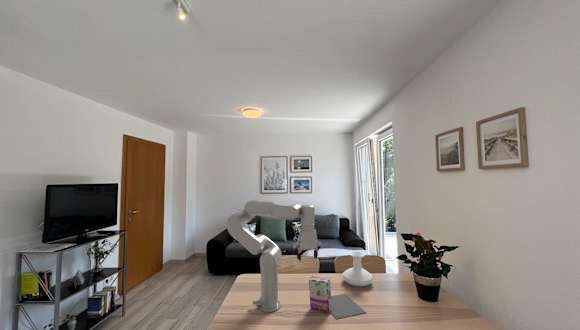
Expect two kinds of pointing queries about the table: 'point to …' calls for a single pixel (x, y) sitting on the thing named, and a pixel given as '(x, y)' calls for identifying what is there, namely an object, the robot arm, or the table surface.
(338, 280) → the table surface
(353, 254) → the candle holder
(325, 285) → the candy bar box
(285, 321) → the table surface
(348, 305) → the mat
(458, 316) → the table surface
